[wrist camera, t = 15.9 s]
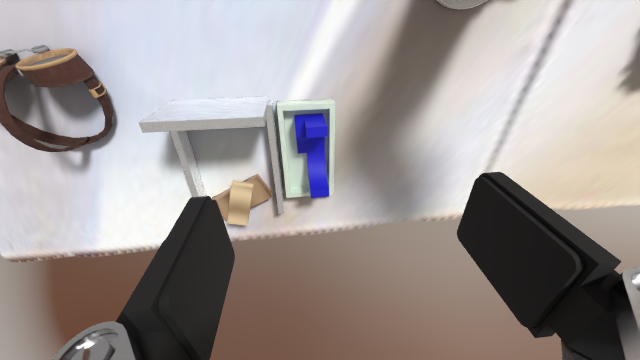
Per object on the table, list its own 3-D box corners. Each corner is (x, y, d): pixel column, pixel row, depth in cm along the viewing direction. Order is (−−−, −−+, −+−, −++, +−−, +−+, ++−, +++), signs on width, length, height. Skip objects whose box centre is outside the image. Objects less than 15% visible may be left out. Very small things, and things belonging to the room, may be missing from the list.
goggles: (85, 36, 32) (31, 67, 25) (145, 124, 41) (118, 164, 34) (-40, 51, 31) (-131, 87, 24) (49, 136, 40) (2, 180, 34)
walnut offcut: (257, 172, 45) (256, 179, 43) (271, 189, 48) (271, 197, 46) (213, 196, 47) (209, 204, 45) (228, 211, 49) (225, 220, 47)
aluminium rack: (272, 95, 38) (267, 116, 30) (284, 203, 49) (283, 241, 41) (169, 100, 37) (133, 122, 28) (205, 209, 48) (187, 249, 39)
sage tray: (332, 98, 39) (335, 103, 37) (331, 186, 48) (333, 194, 46) (277, 101, 39) (276, 105, 36) (286, 189, 47) (286, 197, 45)
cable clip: (294, 115, 39) (294, 128, 34) (322, 113, 40) (327, 126, 35) (300, 179, 46) (301, 199, 41) (324, 177, 46) (329, 196, 41)
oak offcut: (232, 180, 43) (230, 186, 41) (253, 183, 44) (252, 190, 42) (229, 216, 47) (227, 223, 45) (248, 218, 48) (247, 225, 46)
